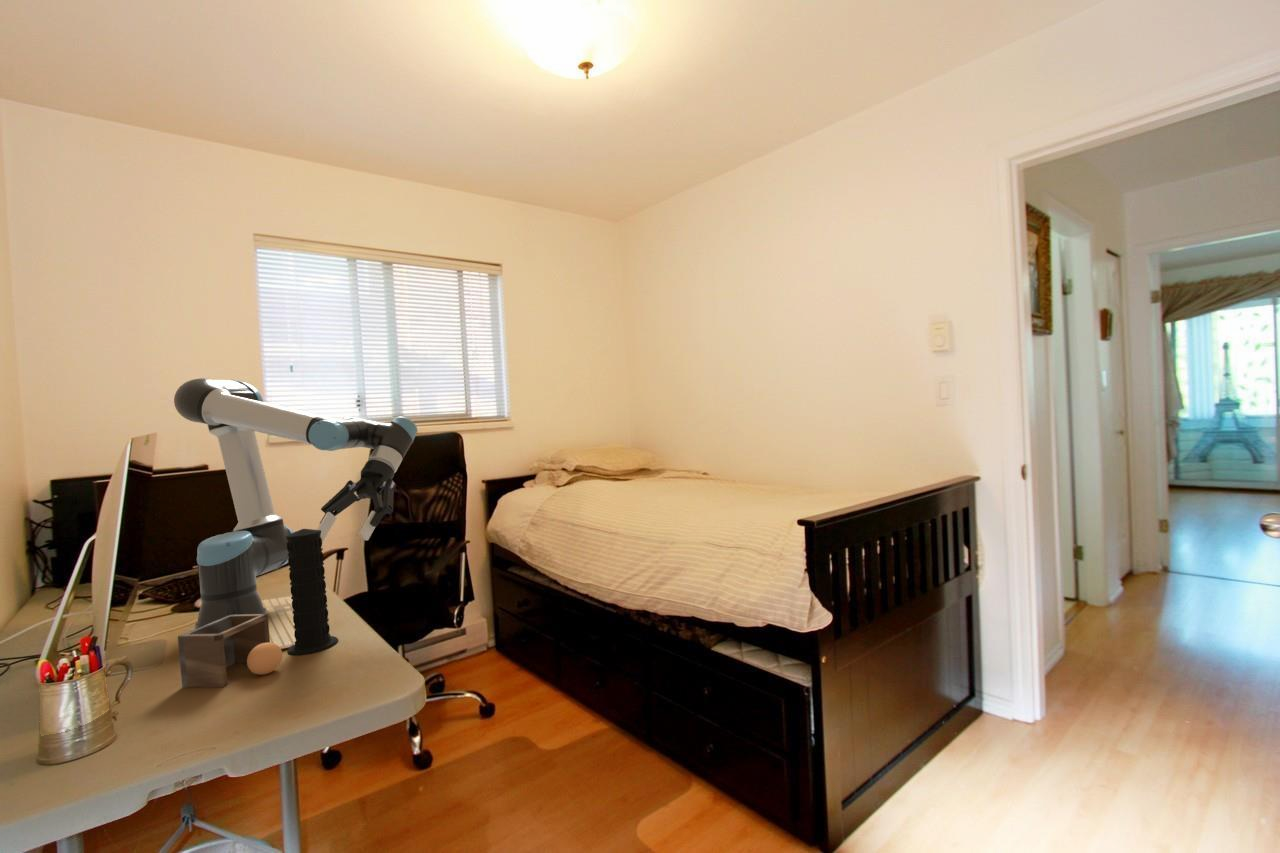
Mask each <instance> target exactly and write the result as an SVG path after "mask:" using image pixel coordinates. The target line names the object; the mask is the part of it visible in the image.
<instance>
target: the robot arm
mask: <svg viewBox="0 0 1280 853" xmlns="http://www.w3.org/2000/svg"><path fill="white" fill-rule="evenodd" d="M173 397H174V398H173V402H174V403H173V404H174V408H175V409H176V410H175V411H176V412H177V413H178V414H179V415H180V416H182V418H184V419H186V420H187V421H190V422H194V423H199V424H200V423H201V424H205V425H207V428H208V433H210V434H211V435H213V436H215V437H216V438H217V440H218V444H219V447H220V452H221V457H222V460H223V465H224V468H225V472H226V477H227V481H228V485H229V489H230V493H231V499H232V501H233V505H234V506H233V507H234V509H235V510H234V511H235V515H236V517H237V518H236V519H237V521H238V522H237V524H236V526H235V527H234V528H233V530H232V531H230V532H225V533H223V534H217V535H215V536H211V537H209V538H208V537H207V538H206V539H204V540H202V541H201V542H200V543H199V544H198V546H197V551H196V552H197V553H196V554H197V556H196V563H197V569H198V570H197V572H198V573H197V574H198V581H199V591H200V602H201V603H200V607H199V610H198V616H197V620H196V621H197V622H196V623H195V624H194V630H195V629H197V628H199V627H202V626H204V625H207V624H209V623H211V622H214V621H216V620H219V619H221V618H224V617H226V616H228V615H241V614H268V611H267V609H266V608H265V607H264V604H263V602H262V599H261V597H260V595H259V593H258V589H257V588H258V586H257V577H258V576H261V575H263V574H266V573H268V572H272V571H274V570H278V569H279V568H282V566H284V565H286V564H288V558H289V556H288V555H287V554H288V553H289V552H288V550H287V542H288V540H287V538H286V535H288V534H291V533H293V532H294V530H293V529H290V527H288V526H286V525H285V524H284V519H283V516H282V517H281V516H280V515H278V514H276V512H275V510H274V506H273V501H272V497H271V494H270V490H269V489H270V488H269V485H268V481H267V477H266V472H265V470H264V465H263V460H262V455H261V452H260V448H259V444H258V443H259V442H258V440H257V436H256V433H257V432H258V433H261V434H267V435H270V436H275V437H278V438H283V439H288V440H291V441H295V442H300V443H305V444H309V445H312V446H313V447H314V448H316V449H317V450H320V451H328V452H329V451H331V452H332V451H333V452H334V451H337V450H338V451H339V450H345V449H355V448H365V449H372V450H373V451H372V452H371V454H370V455H369V457H368V459H367V461H366V462H365V464H364V465H363V467H362V469H361V471H360V478H359V480H358V481H357V482H353V481H352V480H351V479H349V480H348V481H347V482H346V483H345V484H344V486H343V487H342V488H341V489H340V490H338V492H337V493H335V495H334V496H332V497H331V498H330V499H329V500H328V501H327V502H326V503H325V504H324V505H323V506H322V507H321V508H320V510H321V512H323V513H324V515H323V517H322V519H321V520H320V522H319V525H318V527H317V528H316V530H321V536H320V537H321V539H322V542H323V541H325V538H326V537H327V536H328V534H329V531H330V530H331V529H332V527H333V525H334V524H335V522H336V520H337V517H336V516H338V515H339V514H340V513H342V512H343V511H344V510H347V508H349V507H350V506H351V505H353V504H354V503H355V502H360V501H361V500H364V499H372V503H373V506H374V507H373V508H374V510H371V511H370V513H369V515H368V516H367V518H366V521H365V522H364V524H363V525H362V527H361V529H360V531H359V533H358V535H359V537H361V538H362V539H364V541H369V539H370V538H371V536H372V534H373V532H374V530H375V529H376V527H378V526H379V524H380V522H381V520H382V519H383V517H385V516H386V514H388V515H391V514H393V512H394V498H395V496H394V495H395V490H396V487H397V484H396V483H395V482H394V480H393V479H394V476H395V473H396V472H397V471H398V470H399V469H398V468H399V467H400V465H401V463H402V461H403V460H404V458H405V456H406V454H407V452H408V451H409V450H410V447H411V445H412V444H413V443H414V441H415V437H416V436H417V433H418V427H417V425H416V423H415V422H413V421H412V420H411V419H410V418H407V417H404V416H397V417H394V418H392V419H391V420H390V421H389V423H388V422H380V421H375V420H374V421H373V420H370V419H364V418H360V417H355V416H345V417H343V418H342V419H337V418H331V417H327V416H322V415H318V414H314V413H309V412H306V411H301V410H297V409H292V408H288V407H286V406H285V407H284V406H280V405H276V404H272V403H268V402H265V401H264V400H263V399H264V398H263V396H262V394H261V392H260V391H259V390H258V389H257V388H256V387H254V386H253V385H252V384H250V383H247V382H244V381H240V380H235V379H229V380H228V379H215V378H214V379H213V378H203V377H201V378H195V379H190V380H188V381H186V382H184V383H182V384H181V385H180V386H179V387H178V388H177V390H176V392H175V393H174V396H173ZM255 432H256V433H255ZM382 491H383V495H382Z"/></svg>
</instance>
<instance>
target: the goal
mask: <svg viewBox="0 0 1280 853" xmlns="http://www.w3.org/2000/svg"><path fill="white" fill-rule="evenodd" d="M270 638H271V637H270V625H269V615H268V613H267V614H241V615H228V616H226V617H224V618H221V619H219V620H216V621H214V622H211V623H209V624H207V625H204V626H202V627H199V628H197V629H195V628H194V629H193V630H190V631H187V632H185V633H183V634H181V635H178V636H177V641H178V642H177V643H178V653H179V654H178V656H179V664H180V675H181V687H182V688H224V687H226V686H228V676H227V675H228V674H227V668H228V667H230V666H233V665H235V664H244V663H245V664H247V658H248V655H249V653H250V652H251V650H252V649H253V648H255V647H256V646H257V645H259V644H262V643H267V642H269V643H271V640H270Z"/></svg>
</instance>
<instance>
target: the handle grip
mask: <svg viewBox="0 0 1280 853" xmlns="http://www.w3.org/2000/svg"><path fill="white" fill-rule="evenodd" d="M320 536H321V530H317V529H310V528H302V529H299V530H296V531H293V533H291V534H288V535H286V538H287V540H288V542H287V550H288V552H289V553H288V554H287V555H288V556H289V558H288V563H287V564H288V566H289V568H288V570H289V580H290V582H289V585H290V594H291V600H292V601H291V607H292V614H293V616H292V622H293V623H294V625H293V628H294V629H295V630H294V633H293V634H294V639H295V641H294V644H295V645H294V644H293V645H291V646H289V647H288V649H287V654H288V655H290V656H306V655H311V654H316V653H319V652H323V651H326V650H328V649H330V648H332V647H334V646H336V645H337V644H338V643H339V638H338V637H337V636H333V635H331V634H330V630H331V629H330V628H331V627H330V625H329V620H330V619H329V618H328V617H329V609H328V604H327V603H328V596H327V594H326V593H327V590H326V588H327V583H326V581H325V579H326V576H325V572H326V570H325V567H324V565H325V562H324V554H323V547H322V546H323V541H322V539H321V537H320Z"/></svg>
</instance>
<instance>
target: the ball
mask: <svg viewBox="0 0 1280 853" xmlns="http://www.w3.org/2000/svg"><path fill="white" fill-rule="evenodd" d="M282 661H283V650H282V648H281V647H280V646H279V645H278V644H277V643H274V642H270V643H269V642H267V643H262V644H259V645H257V646H256V647H255V648H253V649H252V650H251V652H250V653H249V655H248V658H247V663H246V665H247V668H248V670H250V671H251V673H252V674H255V675H259V676H260V675H269V674H270V673H272V672H273V671H275V670H276V669H278V667H279V666H280V665H281V663H282Z"/></svg>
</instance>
